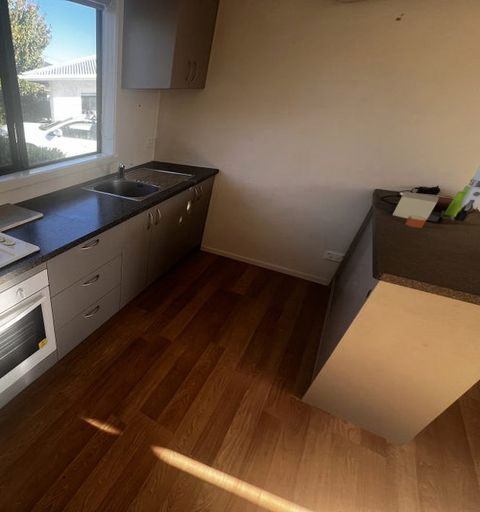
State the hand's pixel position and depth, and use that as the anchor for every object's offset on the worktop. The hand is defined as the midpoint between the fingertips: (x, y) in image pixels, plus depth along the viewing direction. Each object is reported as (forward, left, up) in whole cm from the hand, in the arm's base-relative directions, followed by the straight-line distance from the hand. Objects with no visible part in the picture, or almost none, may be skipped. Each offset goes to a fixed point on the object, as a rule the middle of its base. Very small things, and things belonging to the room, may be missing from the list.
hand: (458, 220), depth 146 cm
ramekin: (+23, 0, -3) cm, 23 cm away
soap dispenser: (-11, -11, -3) cm, 16 cm away
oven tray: (+6, -8, -1) cm, 10 cm away
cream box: (+10, -13, -3) cm, 17 cm away
